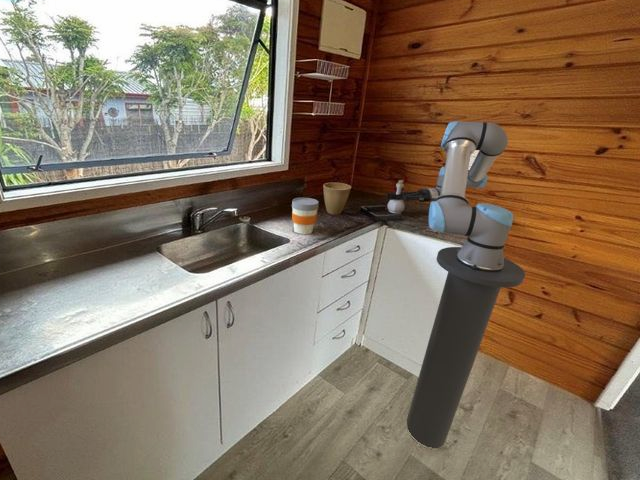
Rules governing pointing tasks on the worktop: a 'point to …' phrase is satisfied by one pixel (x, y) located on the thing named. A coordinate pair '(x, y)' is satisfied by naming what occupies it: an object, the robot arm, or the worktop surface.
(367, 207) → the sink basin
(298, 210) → the reusable coffee cup
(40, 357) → the worktop surface
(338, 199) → the plant pot
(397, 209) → the potion bottle
